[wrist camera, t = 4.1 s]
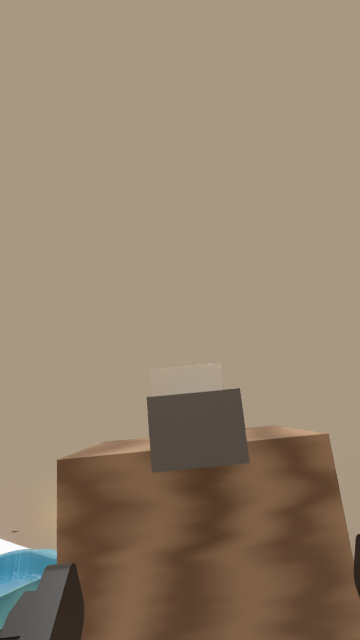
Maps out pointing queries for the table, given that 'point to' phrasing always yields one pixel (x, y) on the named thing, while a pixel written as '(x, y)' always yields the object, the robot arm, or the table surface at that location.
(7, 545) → the table surface
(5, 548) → the table surface
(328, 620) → the stand
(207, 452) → the plug
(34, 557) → the casserole dish
